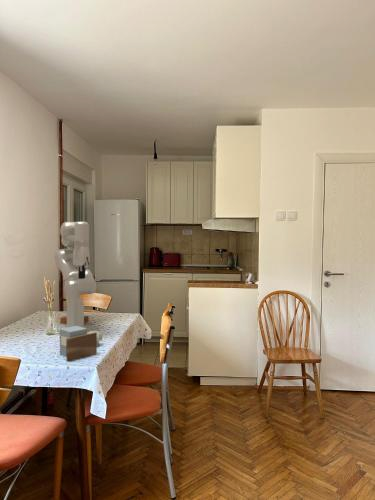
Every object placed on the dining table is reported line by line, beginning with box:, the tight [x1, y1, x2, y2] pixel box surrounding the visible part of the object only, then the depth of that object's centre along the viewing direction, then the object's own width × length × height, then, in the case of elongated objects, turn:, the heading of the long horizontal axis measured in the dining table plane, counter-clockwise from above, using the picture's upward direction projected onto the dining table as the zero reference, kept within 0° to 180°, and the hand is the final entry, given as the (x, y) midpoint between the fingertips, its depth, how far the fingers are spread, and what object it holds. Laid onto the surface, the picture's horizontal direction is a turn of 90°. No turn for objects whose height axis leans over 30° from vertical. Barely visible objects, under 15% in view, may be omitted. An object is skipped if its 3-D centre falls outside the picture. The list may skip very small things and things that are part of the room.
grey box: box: [59, 326, 88, 358], centre depth 172 cm, size 9×9×12 cm
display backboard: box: [65, 332, 98, 362], centre depth 167 cm, size 2×15×10 cm, turn 138°
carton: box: [60, 315, 90, 325], centre depth 239 cm, size 8×16×4 cm, turn 89°
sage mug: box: [87, 330, 103, 348], centre depth 186 cm, size 6×8×7 cm
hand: (81, 278), depth 197 cm, fingers closed
